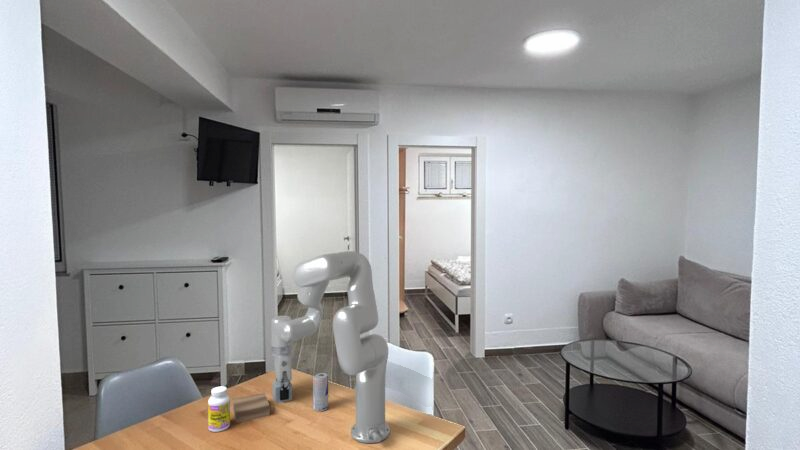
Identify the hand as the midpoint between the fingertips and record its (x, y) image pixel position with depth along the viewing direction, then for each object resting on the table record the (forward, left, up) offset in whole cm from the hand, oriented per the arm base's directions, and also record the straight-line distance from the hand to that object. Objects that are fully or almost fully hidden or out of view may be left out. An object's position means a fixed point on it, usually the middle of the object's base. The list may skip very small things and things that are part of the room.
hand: (282, 394), depth 157 cm
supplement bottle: (-12, +22, -2) cm, 26 cm away
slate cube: (0, 0, -1) cm, 1 cm away
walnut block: (-6, +12, -2) cm, 14 cm away
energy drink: (-14, -11, -2) cm, 18 cm away
